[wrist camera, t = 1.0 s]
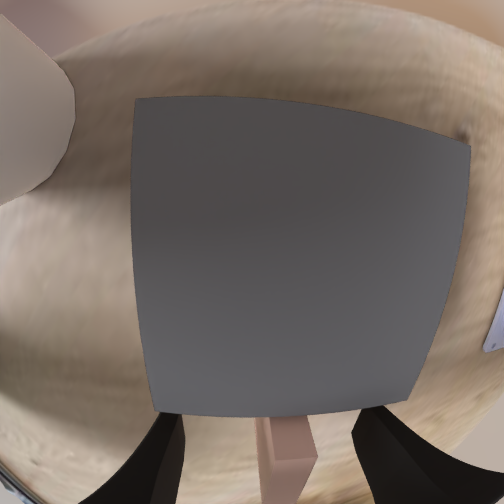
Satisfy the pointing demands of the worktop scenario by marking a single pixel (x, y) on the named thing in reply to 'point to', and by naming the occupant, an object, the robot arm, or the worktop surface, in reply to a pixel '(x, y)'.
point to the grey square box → (288, 253)
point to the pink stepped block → (284, 457)
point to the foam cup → (30, 113)
